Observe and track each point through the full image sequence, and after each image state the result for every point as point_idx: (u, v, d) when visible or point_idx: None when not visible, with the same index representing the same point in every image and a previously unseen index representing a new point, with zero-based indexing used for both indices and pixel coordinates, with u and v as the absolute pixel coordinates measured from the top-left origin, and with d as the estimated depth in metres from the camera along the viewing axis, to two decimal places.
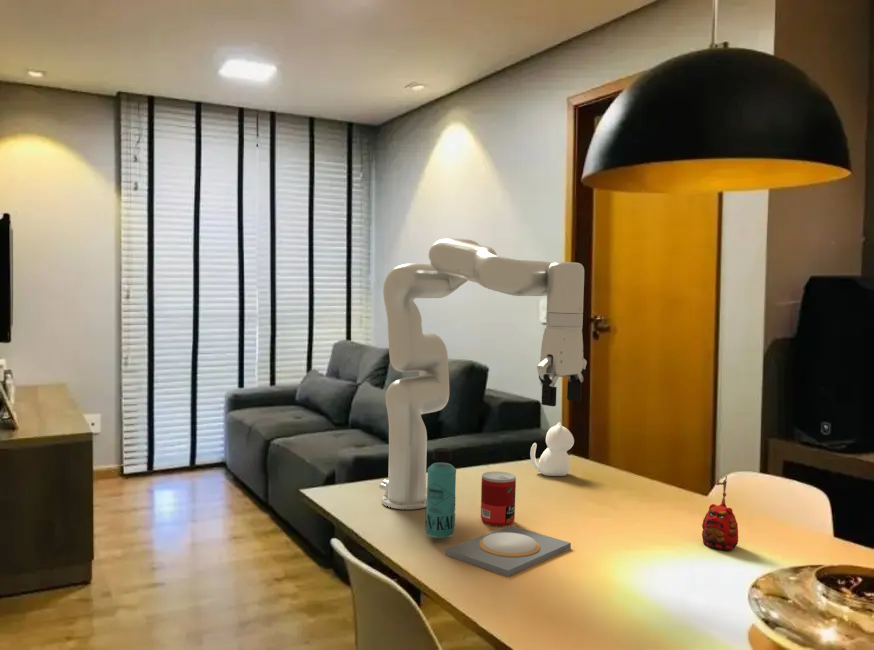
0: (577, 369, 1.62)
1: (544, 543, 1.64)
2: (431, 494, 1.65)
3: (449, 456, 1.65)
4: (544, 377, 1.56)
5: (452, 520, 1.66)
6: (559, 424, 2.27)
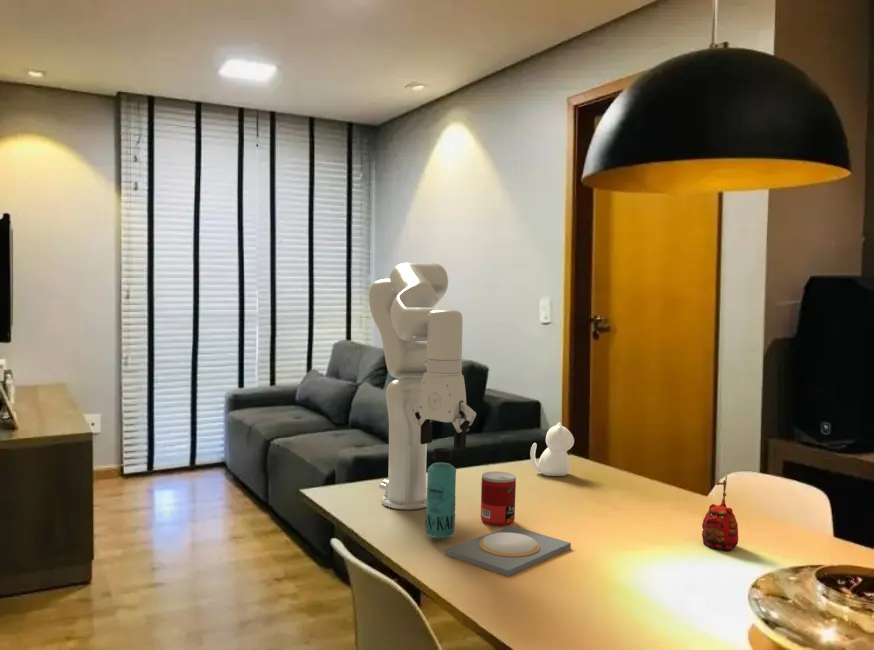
0: None
1: (544, 543, 1.64)
2: (431, 494, 1.65)
3: (449, 456, 1.65)
4: (472, 422, 1.61)
5: (452, 520, 1.66)
6: (559, 424, 2.27)
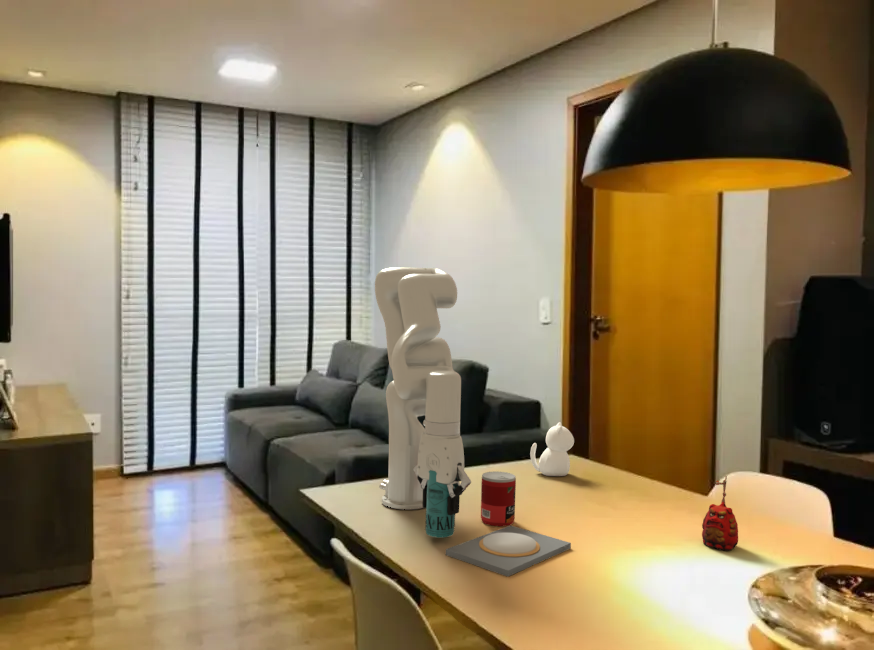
0: None
1: (544, 543, 1.64)
2: (431, 494, 1.65)
3: None
4: (465, 487, 1.63)
5: (452, 520, 1.66)
6: (559, 424, 2.27)
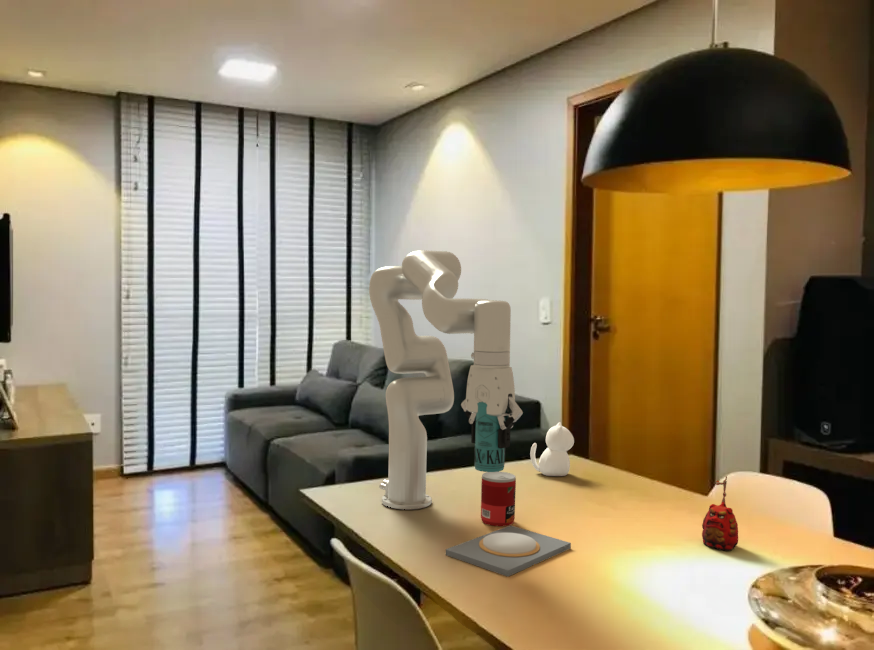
0: None
1: (544, 543, 1.64)
2: (480, 427, 1.59)
3: None
4: (516, 419, 1.57)
5: (502, 454, 1.60)
6: (559, 424, 2.27)
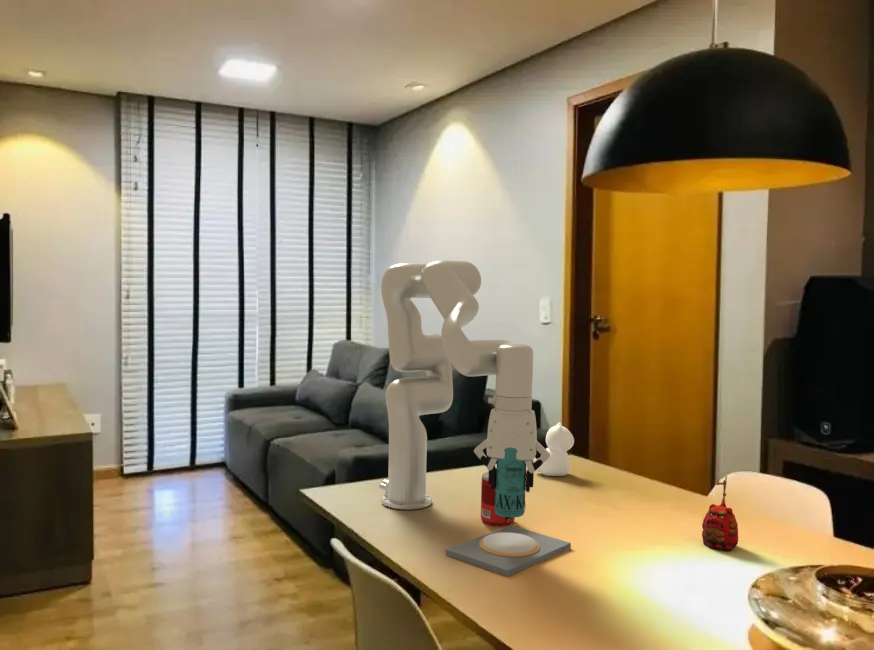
0: None
1: (544, 543, 1.64)
2: (509, 473, 1.57)
3: None
4: None
5: None
6: (559, 424, 2.27)
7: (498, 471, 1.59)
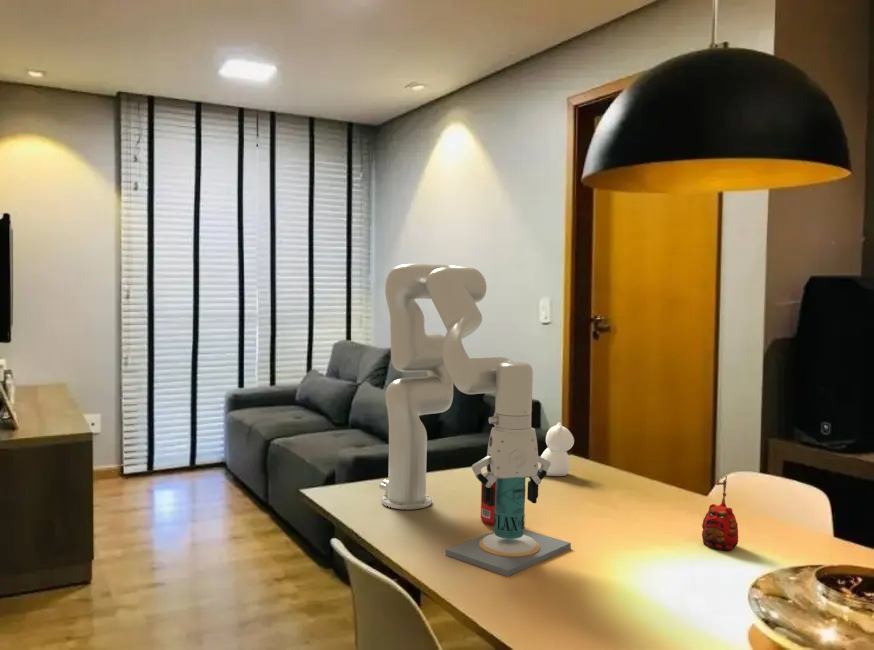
0: None
1: (544, 543, 1.64)
2: (516, 495, 1.58)
3: None
4: None
5: None
6: (559, 424, 2.27)
7: (502, 494, 1.58)
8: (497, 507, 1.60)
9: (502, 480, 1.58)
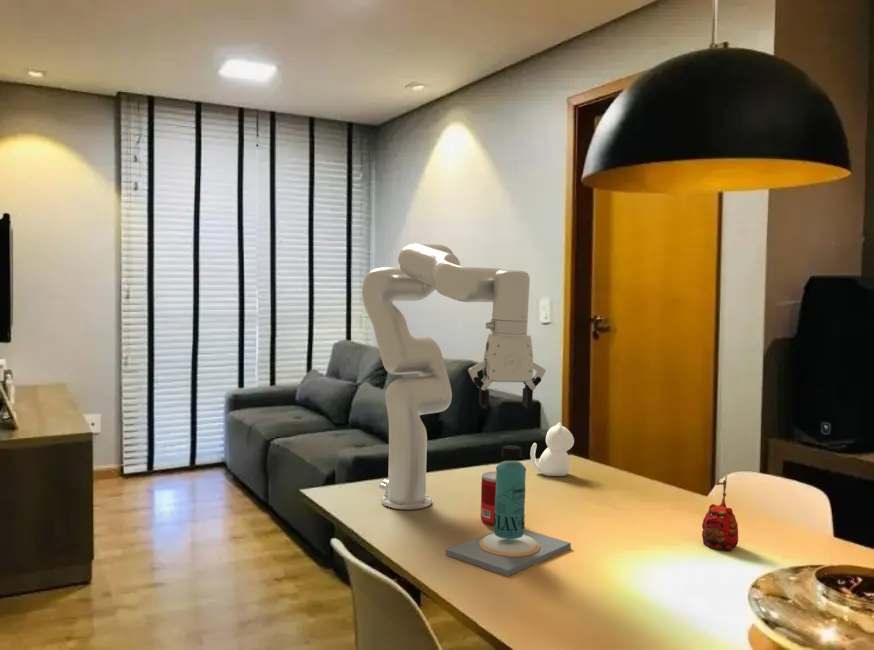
0: None
1: (544, 543, 1.64)
2: (516, 495, 1.58)
3: None
4: None
5: None
6: (559, 424, 2.27)
7: (502, 494, 1.58)
8: (497, 507, 1.60)
9: (502, 480, 1.58)
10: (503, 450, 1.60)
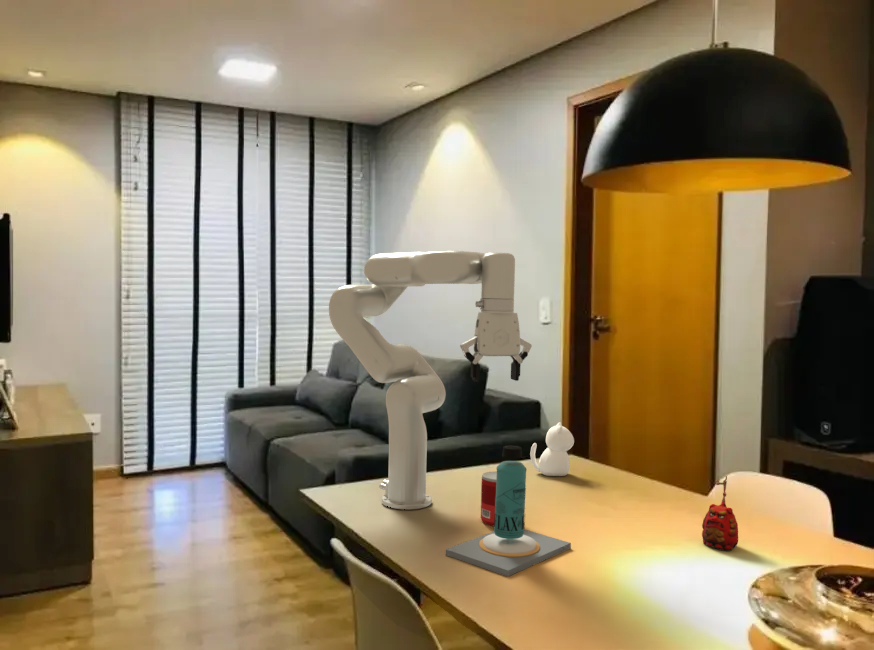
0: None
1: (544, 543, 1.64)
2: (516, 495, 1.58)
3: None
4: None
5: None
6: (559, 424, 2.27)
7: (503, 494, 1.58)
8: (497, 507, 1.60)
9: (502, 480, 1.58)
10: (504, 450, 1.60)
